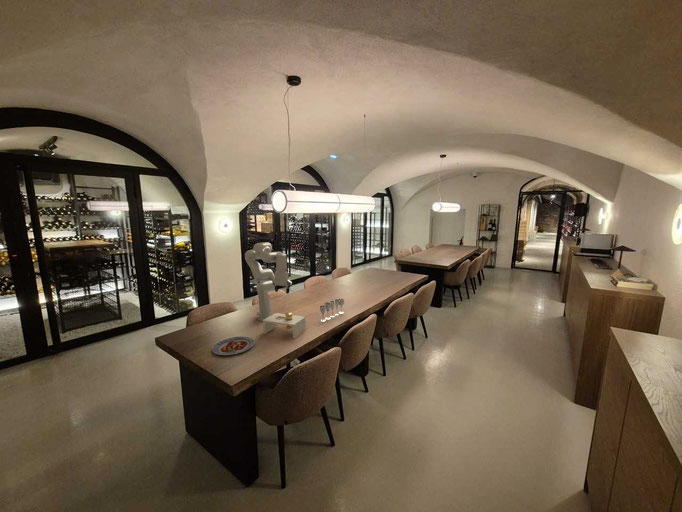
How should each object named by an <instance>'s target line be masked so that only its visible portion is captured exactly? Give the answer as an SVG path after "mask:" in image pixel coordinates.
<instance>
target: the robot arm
mask: <svg viewBox="0 0 682 512" xmlns="http://www.w3.org/2000/svg"><path fill="white" fill-rule="evenodd" d="M272 250H273V246H272V244H271V243H270V242H267V241H265V242H257V243H255V244H254V245H253V249H249V250H247V251H245V253H244V259H245V262H246V263H247V265H248V266H249V268H250V270H251V273H252V276H253V279H254V280H255V281H257V284H256V292H257V296H258V311H257V312H256V314H255V316H258V317H257V320H258V321H262V322H263V320H264V319H266V318H268V317H269V316H271V315H272V303H271V296H270V294H269V292H274V291H275V293H277V292H278V291H279V286H280V287H286V288H285V293H286V295H287V294H289V293H290V288H291V287H292V284H293V282H292V281H291V280H289V279H290V278H289V273H288V271H287V270H288V268H287V267H288V266H287V262H288V261H287V253H283V252H281V251H272ZM257 260H262V261H263V262H264V263H268V264H270V263H275V265H276V267H275V269H274V270H275V272H273V270H272V269H270V268H262V265H261V263H260V262H258V261H257ZM274 273H275V274H274Z"/></svg>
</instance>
